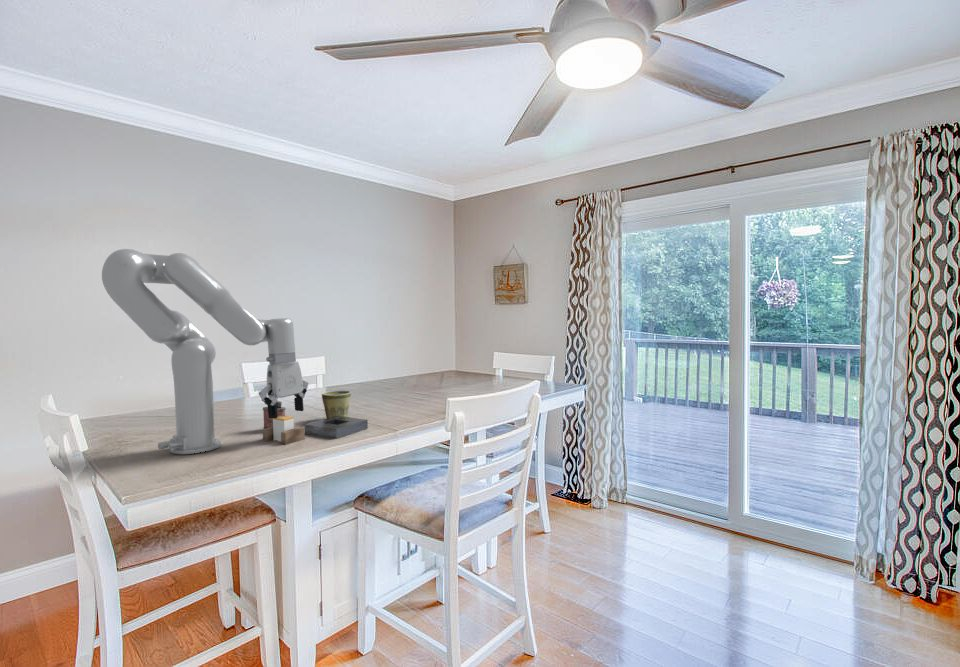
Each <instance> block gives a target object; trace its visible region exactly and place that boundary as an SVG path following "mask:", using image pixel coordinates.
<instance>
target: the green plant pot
mask: <svg viewBox="0 0 960 667" xmlns="http://www.w3.org/2000/svg"><path fill="white" fill-rule="evenodd" d="M351 393H352V392H351V391H350V390H340V389H339V390H329V391H325V392H322V393H321V398H322V403H323V408H324V412H325V417H326V418H330V417H334V416H343V417H348V414H349V407H350V402H351V401H350V400H351V395H352V394H351ZM326 418H325V419H326Z"/></svg>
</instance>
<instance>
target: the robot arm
mask: <svg viewBox="0 0 960 667" xmlns="http://www.w3.org/2000/svg"><path fill="white" fill-rule="evenodd" d="M101 280H102V281H101V282H102V285H103V287H104V289H105V292H106V293H107V294H108V296H109V297H110V299H112V301H113V302H114V303H115V304H116V305H117V306H118V307H119V309H120V310H122V311H123V312H124V313H125V314H126V315H127V316H128V317H129V318H130V320H132V322H133V323H135V325H137V327H139V328H140V330H142V331H143V332H144V334H145V335H147V338H149V339H150V340H152V342H156V343H158V344H164V345H165V346H166V347H168V348H169V349H168V350H170V351H171V352H172V355H171V361H170V362H171V370H172V376H173V390H174V408H175V409H174V410H175V431H176V433H175V435H172V438H171V439H169V440H165V441H162V442H158V443H157V447H158V450H160V451H161V450H163V449H164V450H165V449H170V453H172V454H175V455H194V453H195V454H201V453H206V452H210V451H214V450H216V449H218V448H220V447H221V446H222V441H221V440H220V439H217V438H216V435H215V429H216V428H215V412H214V411H215V408H214V405H215V404H214V385H213V384H214V382H213V381H214V380H213V373H212V372H213V370H212V363H213V362H214V360H215V359H216V355H217V354H216V353H217V352H216V349H215V348H216V347H215V346H214V344H213V343H212V342H211V341H210V340H209V338H208V337H206V336H205V335H204V334H203V332H202V331H201V330H200V329H199V328H198V327H197V326H195V324H194V323H193V322H192V321H191V320H190V319H189V318H188V317H186V316H185V315H184V314H182V313H181V312H180V311H176V310H172V309H170V308H169V307H167V306H166V305H165V303H164V302H162V301H161V300H160V299H159V297H157V295H156V294H155V293H154V292H153V291H152V290H151V289H149V288H148V286H147V285H145V284H165V285H173V286H174V285H175V286H176V288H178V289H179V290H181V291H182V292H183V293H184V294H185V295H186V296H188V297H189V298H190V299H191V300H192V301H193V302H194V303H195V304H196V305H197V306H199V307H200V308H201V309H202V310H203V311H204V312H205V313H206V314H208V315H209V316H210V317H211V318H213V319H214V320H215V321H216V322H217V324H219V325H220V326H221V327H223V328H224V330H226V331H227V332H228V333H229V334H231V335H232V336H233V337H234V338H235V339H237V340H238V341H239V342H241V343H242V344H243V345H246V346H256V345H259V344H261V343H265V342H266V343H267V349H268V352H267V353H268V357H266V361H267V362H269V364H268V365H267V370H266V371H267V372H266V386H265V387H264V388H263V389H261V390H260V391H258V396H259V397H260V399H261V401H262V402H264V405H266V406H267V407H268V415H269V418H277V417H278V415H277V405H275V403H276V401H277V400H279V398H287V397H290V396H294V399H293V401H294V410H295V411H297V412H303V411H304V410H305V409H304V398H305V395H306V393H307V391H308V390H307V389H308V387H309V382H308V381H305V380H304V379H303V376H302V371H301V367H300V364H299V361H297V360H296V359H297V357H296V344H295V332H294V322H293V320H292V319H291V318H288V317H287V318H286V317H285V318H284V317H283V318H282V317H281V318H271V319H257V318H255V316H253V315H252V314H251V313H250V312H248V311H247V310H246V309H245V308H244V307H243V306H242V305H241V304H240V303H239V302H238V301H237V300H236V299H235V298H234V297H233V296H232V295H231V293H230V291H229V290H228V289H227V288H226V287H225V286H224V285H223V284H222V283H221V282H220V281H218V280H217V279H216V278H215V277H214V276H213V275H212V274H210V273H209V272H208V271H207V270H206V269H205V268H204V267H202V266H201V265H200V263H198V261H197V260H196V259H195V258H194V257H192V256H190V255H188V254H185V253H182V252H175V253H172V254H169V255H163V254H162V255H161V254H151V253H143V252H142V251H138V250H135V249H133V248H132V249H131V248H130V249H129V248H122V249H121V248H120V249H118V250H115V251H113V252H111V253H110V254H109V255H108V256H107V258H106V259H105V261H104V263H103V266H102V269H101ZM144 283H145V284H144ZM205 451H206V452H205ZM200 452H201V453H200Z"/></svg>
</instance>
